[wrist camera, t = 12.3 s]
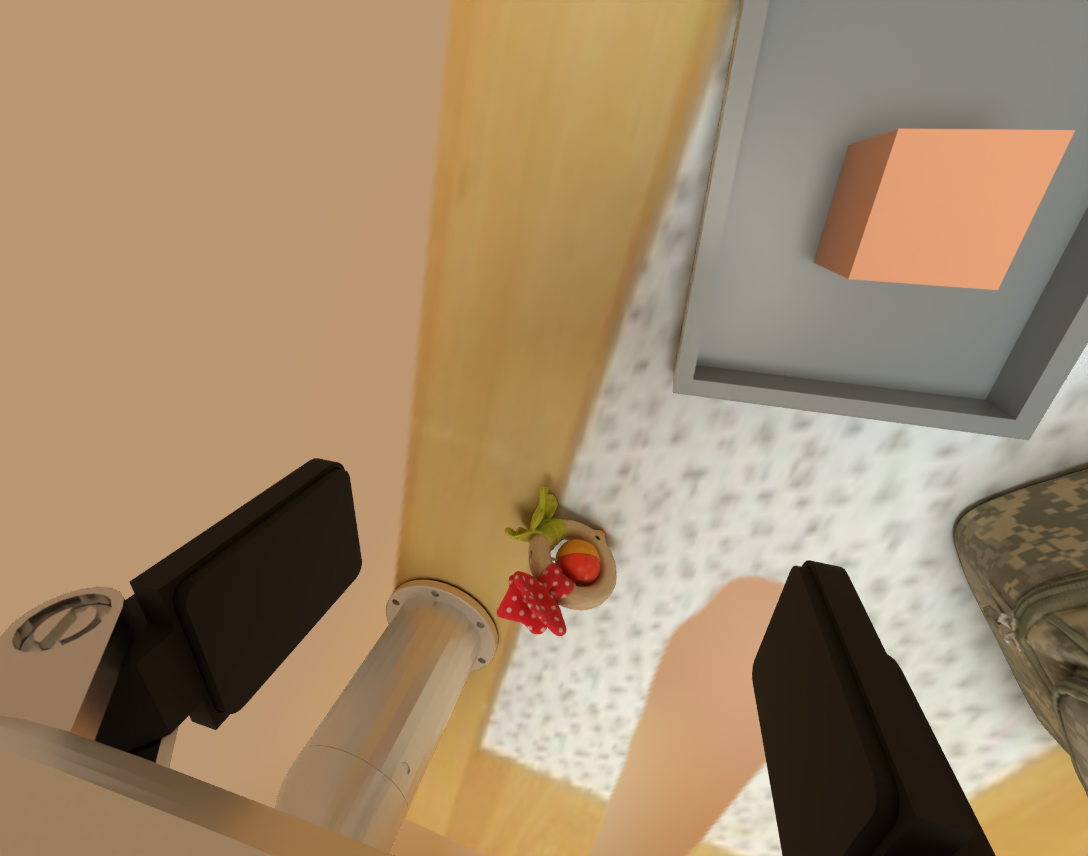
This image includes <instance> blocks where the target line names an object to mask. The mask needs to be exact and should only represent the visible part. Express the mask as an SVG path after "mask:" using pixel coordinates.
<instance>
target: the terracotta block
mask: <svg viewBox="0 0 1088 856" xmlns="http://www.w3.org/2000/svg"><path fill="white" fill-rule="evenodd" d="M1074 132H1075V130H1011V129H896V130H893V131H890V132H887V133H884V134H881V135H878V136H875V137H872V138H869V139H866V140H863V141H860V142H857V143H854V144H851V145H848V149H847V152H846V155H845V159H844V162H843V166H842V169H841V172H840V176H839V179H838V182H837V186H836V189H835V193H834V196H833V199H832V203H831V206H830V210H829V213H828V216H827V220H826V223H825V227H824V230H823V233H822V237H821V240H820V244H819V247H818V250H817V254H816V257H815V260H814V263H815V264H817V265H820V266H822V267H824V268H826V269H828V270H830V271H832V272H834V273H836V274H838V275H841V276H843V277H845V278H847V279H852V280H866V281H880V282H893V283H907V284H921V285H934V286H948V287H962V288H975V289H989V290H998V289H999V287H1000V285H1001V283H1002V281H1003V279H1004V276H1005V274H1006V272H1007V270H1008V268H1009V266H1010V264H1011V262H1012V260H1013V258H1014V256H1015V254H1016V252H1017V250H1018V248H1019V245H1020V243H1021V241H1022V239H1023V237H1024V235H1025V233H1026V231H1027V229H1028V227H1029V225H1030V223H1031V221H1032V219H1033V217H1034V215H1035V212H1036V210H1037V208H1038V206H1039V204H1040V202H1041V200H1042V198H1043V196H1044V194H1045V192H1046V190H1047V188H1048V186H1049V184H1050V181H1051V179H1052V177H1053V175H1054V173H1055V171H1056V169H1057V167H1058V165H1059V163H1060V161H1061V159H1062V157H1063V155H1064V153H1065V151H1066V148H1067V146H1068V144H1069V142H1070V140H1071V138H1072V136H1073V134H1074Z"/></svg>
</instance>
